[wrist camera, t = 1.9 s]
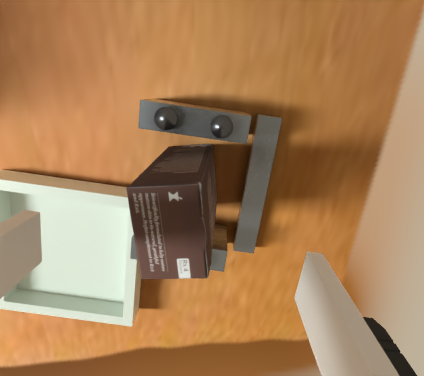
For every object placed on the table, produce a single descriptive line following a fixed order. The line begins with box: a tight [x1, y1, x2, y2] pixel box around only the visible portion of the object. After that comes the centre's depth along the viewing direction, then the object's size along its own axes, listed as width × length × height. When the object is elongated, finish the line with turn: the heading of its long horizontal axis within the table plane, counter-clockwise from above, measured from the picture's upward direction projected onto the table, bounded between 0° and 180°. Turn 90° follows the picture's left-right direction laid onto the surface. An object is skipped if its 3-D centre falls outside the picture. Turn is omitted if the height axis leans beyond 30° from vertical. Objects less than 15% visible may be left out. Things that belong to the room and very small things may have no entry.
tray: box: [0, 169, 141, 326], centre depth 29 cm, size 14×14×3 cm
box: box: [126, 144, 217, 279], centre depth 22 cm, size 6×4×12 cm
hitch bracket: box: [130, 99, 282, 272], centre depth 25 cm, size 11×13×6 cm
